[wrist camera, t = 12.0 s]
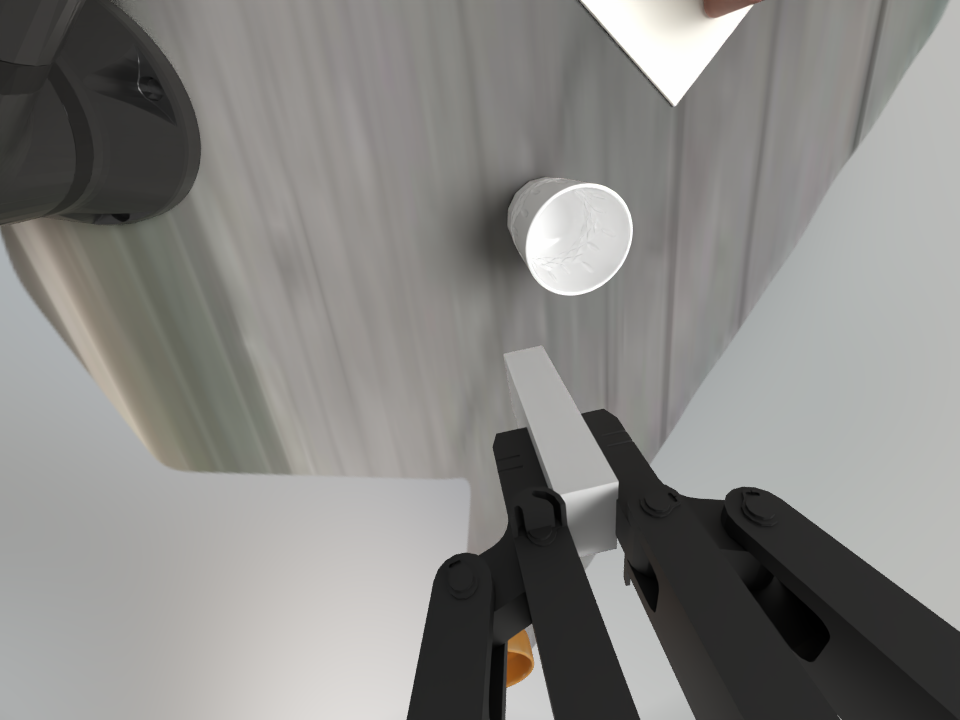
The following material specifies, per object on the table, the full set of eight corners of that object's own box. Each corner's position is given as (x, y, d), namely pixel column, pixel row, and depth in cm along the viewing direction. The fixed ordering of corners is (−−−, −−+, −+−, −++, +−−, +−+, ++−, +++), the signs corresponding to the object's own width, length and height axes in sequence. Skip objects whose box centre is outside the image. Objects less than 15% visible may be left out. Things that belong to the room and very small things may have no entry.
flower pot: (498, 607, 72) (512, 694, 61) (425, 604, 68) (426, 696, 57) (528, 563, 65) (550, 651, 54) (449, 556, 61) (455, 650, 50)
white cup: (526, 152, 33) (562, 161, 24) (598, 194, 35) (654, 214, 27) (486, 238, 36) (506, 271, 28) (555, 270, 39) (592, 310, 30)
